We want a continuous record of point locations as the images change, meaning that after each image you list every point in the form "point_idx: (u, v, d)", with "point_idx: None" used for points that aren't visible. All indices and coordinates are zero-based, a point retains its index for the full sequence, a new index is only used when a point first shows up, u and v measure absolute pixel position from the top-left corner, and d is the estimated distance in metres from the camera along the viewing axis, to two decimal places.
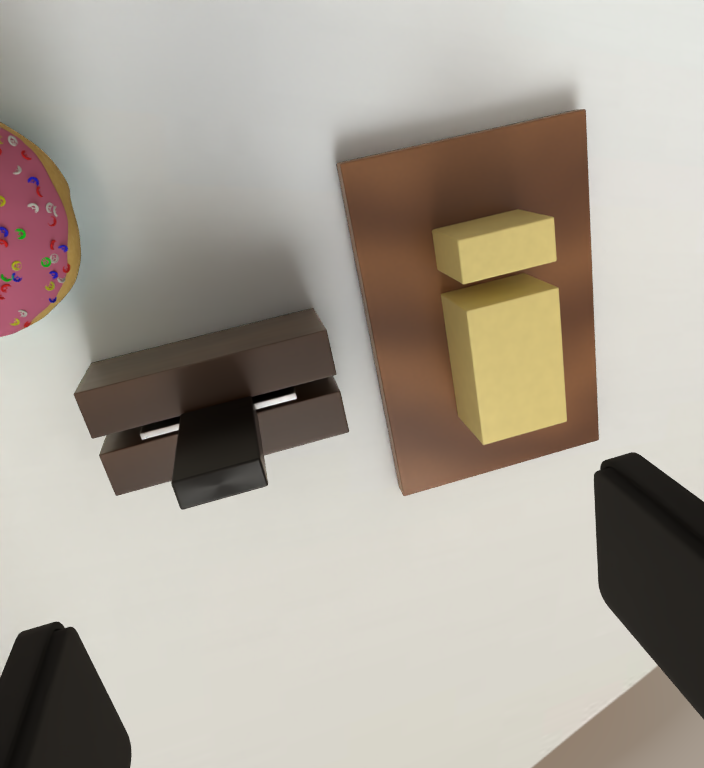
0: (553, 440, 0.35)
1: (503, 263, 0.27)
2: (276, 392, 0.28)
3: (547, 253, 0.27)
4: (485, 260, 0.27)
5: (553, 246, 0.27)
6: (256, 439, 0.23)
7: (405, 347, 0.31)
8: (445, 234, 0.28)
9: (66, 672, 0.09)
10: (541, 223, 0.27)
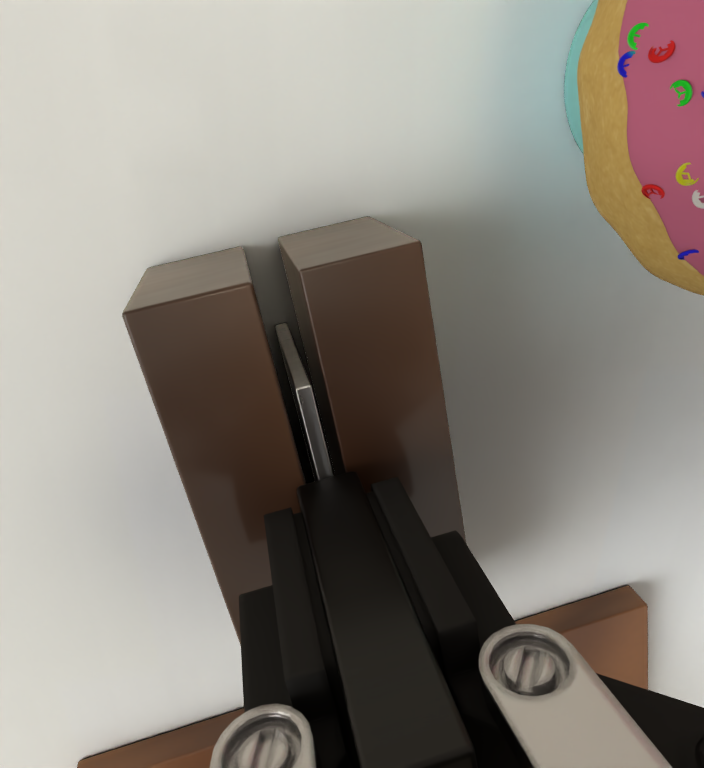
0: None
1: None
2: None
3: None
4: None
5: None
6: None
7: None
8: None
9: None
10: None
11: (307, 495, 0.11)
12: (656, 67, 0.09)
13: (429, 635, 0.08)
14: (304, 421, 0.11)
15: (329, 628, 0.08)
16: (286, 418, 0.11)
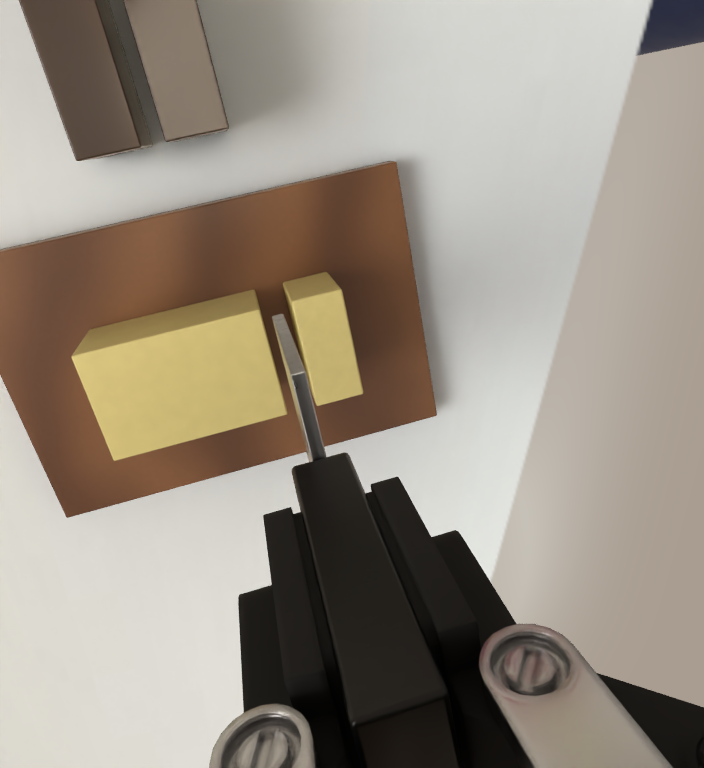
0: (61, 460, 0.27)
1: (315, 346, 0.24)
2: None
3: (325, 394, 0.25)
4: (318, 324, 0.24)
5: (332, 399, 0.25)
6: None
7: (184, 250, 0.25)
8: (334, 281, 0.25)
9: None
10: (357, 381, 0.25)
11: (301, 474, 0.12)
12: None
13: (429, 635, 0.08)
14: (298, 405, 0.12)
15: (320, 592, 0.09)
16: None
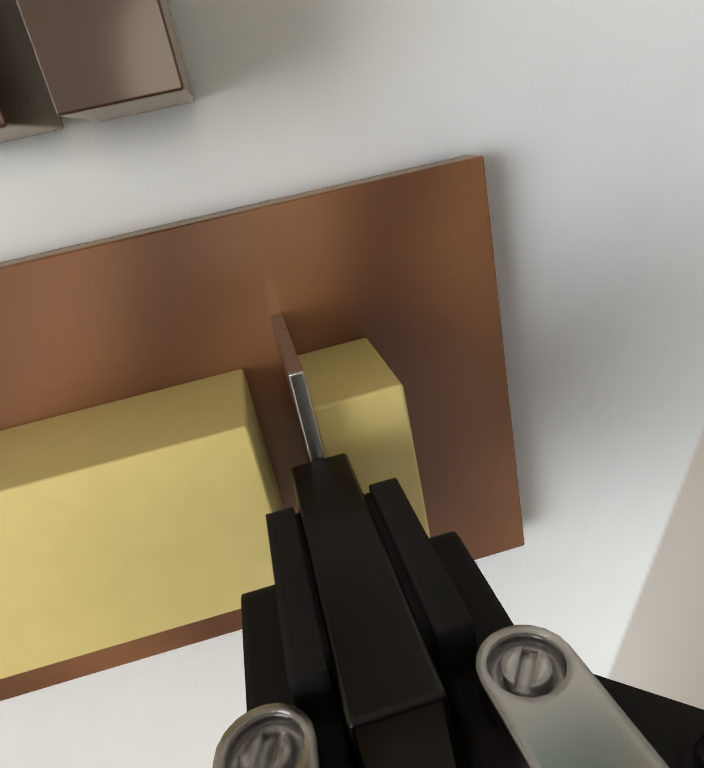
0: None
1: None
2: None
3: None
4: (360, 445, 0.13)
5: None
6: None
7: (123, 307, 0.15)
8: (383, 361, 0.15)
9: None
10: None
11: (300, 475, 0.12)
12: None
13: (427, 636, 0.08)
14: (297, 405, 0.12)
15: (318, 593, 0.09)
16: None
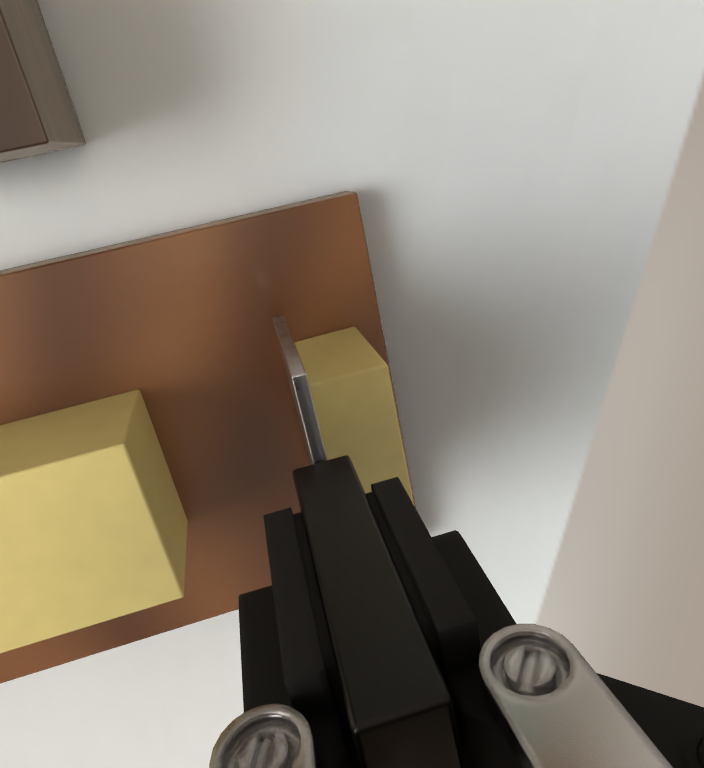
0: None
1: (344, 452, 0.15)
2: None
3: None
4: (350, 420, 0.15)
5: None
6: None
7: (21, 334, 0.16)
8: (370, 345, 0.16)
9: None
10: None
11: (302, 477, 0.12)
12: None
13: (429, 635, 0.08)
14: (299, 407, 0.12)
15: (321, 596, 0.09)
16: None
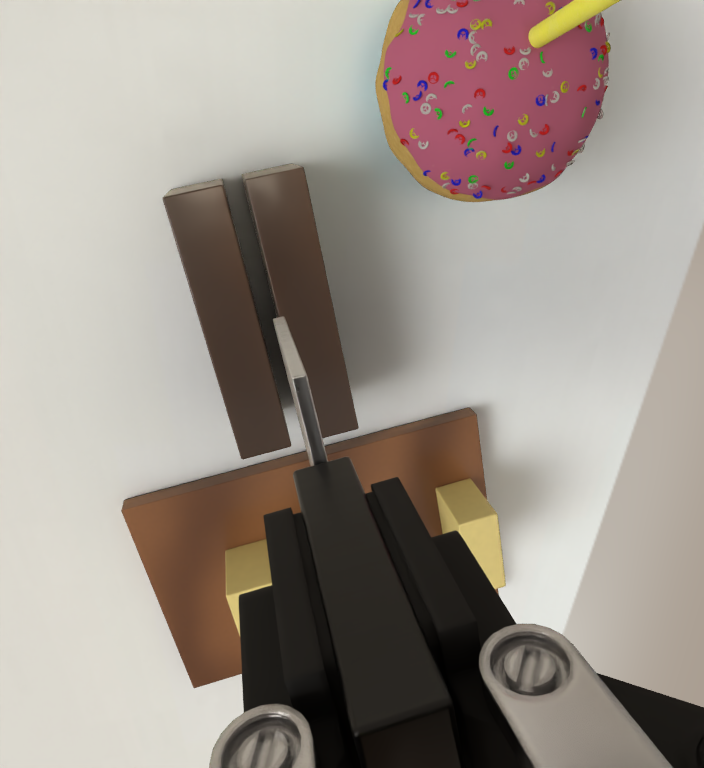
0: (194, 646, 0.33)
1: (473, 554, 0.30)
2: None
3: None
4: (477, 540, 0.30)
5: None
6: None
7: None
8: (483, 496, 0.31)
9: None
10: (502, 577, 0.31)
11: (303, 479, 0.12)
12: (397, 86, 0.21)
13: (429, 635, 0.08)
14: (300, 408, 0.12)
15: (322, 598, 0.09)
16: (240, 255, 0.23)
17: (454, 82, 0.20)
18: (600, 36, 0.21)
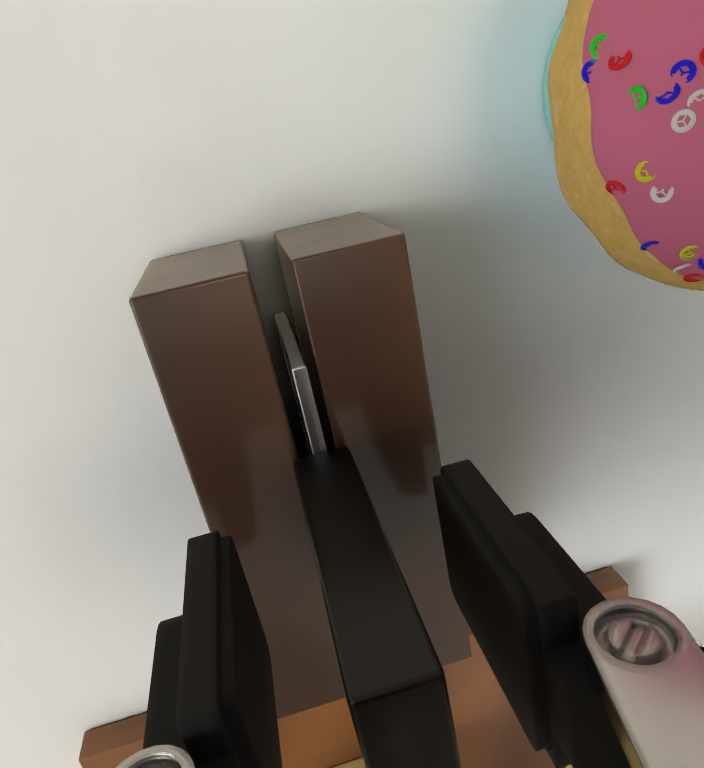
0: None
1: None
2: None
3: None
4: None
5: None
6: None
7: None
8: None
9: (235, 570, 0.10)
10: None
11: (302, 468, 0.12)
12: (616, 74, 0.10)
13: (527, 609, 0.08)
14: (300, 399, 0.12)
15: (320, 579, 0.09)
16: (280, 398, 0.12)
17: None
18: None
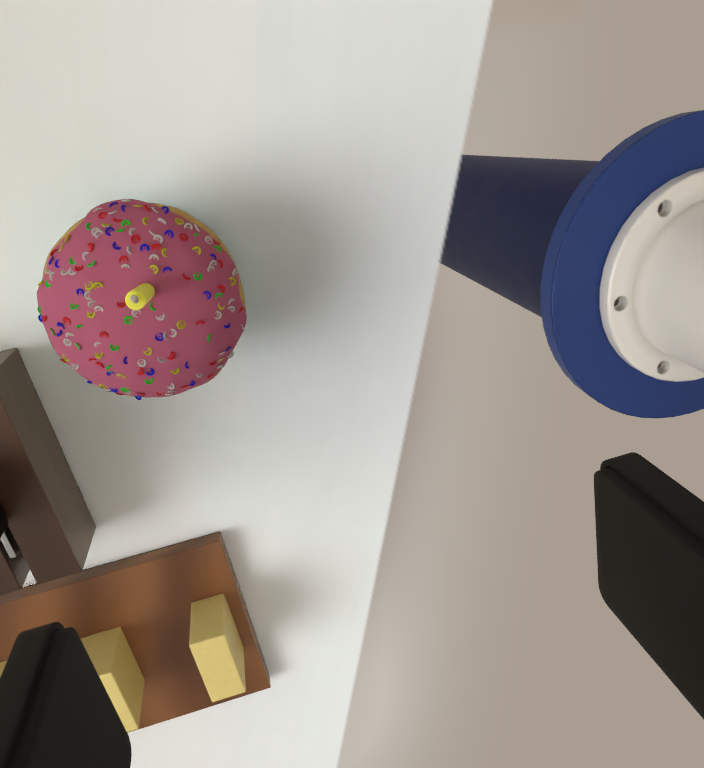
0: None
1: (208, 668, 0.34)
2: None
3: (217, 695, 0.35)
4: (209, 656, 0.34)
5: (223, 697, 0.35)
6: None
7: (66, 609, 0.35)
8: (224, 614, 0.35)
9: (66, 672, 0.09)
10: (240, 685, 0.35)
11: None
12: (47, 321, 0.25)
13: None
14: None
15: None
16: None
17: (83, 325, 0.24)
18: (217, 278, 0.25)
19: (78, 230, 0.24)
